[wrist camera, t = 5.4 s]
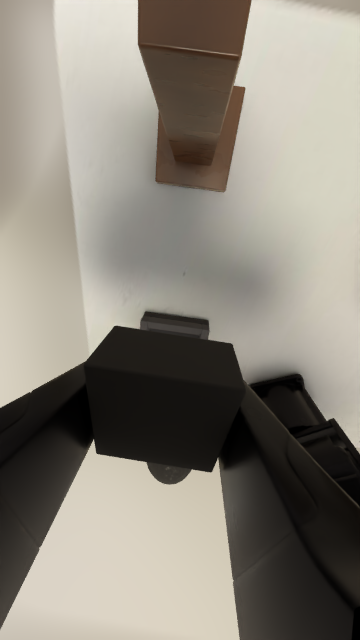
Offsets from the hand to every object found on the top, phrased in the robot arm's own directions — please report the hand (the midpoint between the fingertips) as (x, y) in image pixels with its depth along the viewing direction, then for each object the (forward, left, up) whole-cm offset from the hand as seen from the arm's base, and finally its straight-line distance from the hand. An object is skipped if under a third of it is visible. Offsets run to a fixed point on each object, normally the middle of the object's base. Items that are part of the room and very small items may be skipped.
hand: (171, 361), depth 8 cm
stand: (-5, -10, -12) cm, 16 cm away
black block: (0, 0, +1) cm, 1 cm away
